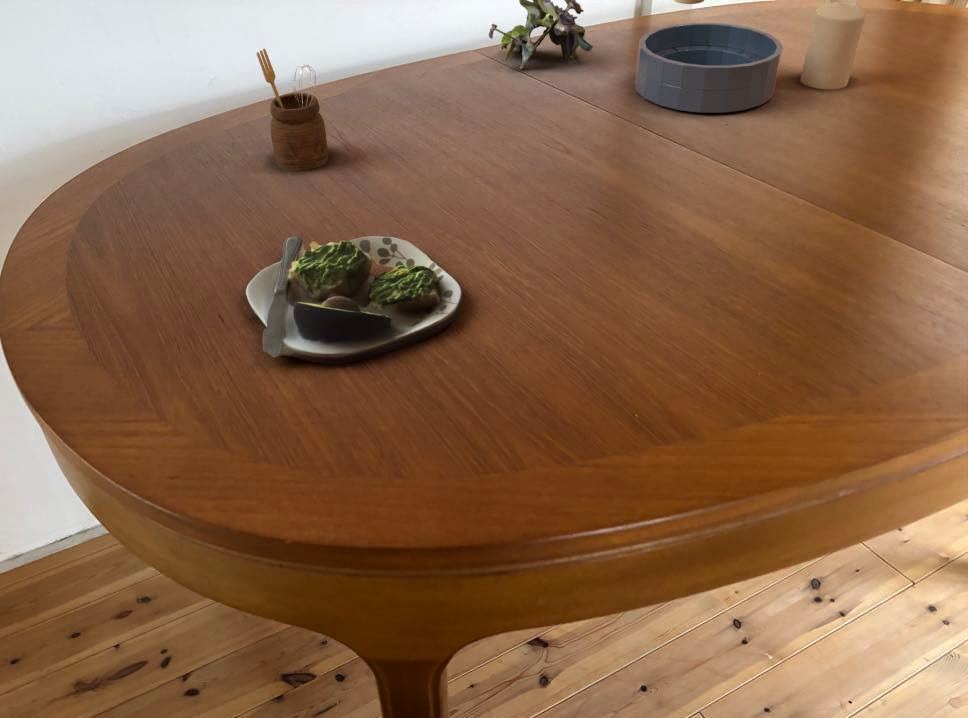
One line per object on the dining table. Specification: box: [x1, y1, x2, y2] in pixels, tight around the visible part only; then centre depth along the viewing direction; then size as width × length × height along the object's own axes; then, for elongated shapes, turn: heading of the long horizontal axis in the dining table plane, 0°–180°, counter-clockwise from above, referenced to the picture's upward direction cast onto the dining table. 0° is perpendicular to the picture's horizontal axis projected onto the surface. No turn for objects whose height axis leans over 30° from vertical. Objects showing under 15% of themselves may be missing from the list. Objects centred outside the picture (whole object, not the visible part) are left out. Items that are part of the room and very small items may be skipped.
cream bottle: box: [800, 0, 866, 90], centre depth 107 cm, size 6×6×10 cm
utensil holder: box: [256, 47, 329, 172], centre depth 95 cm, size 6×6×12 cm
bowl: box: [634, 22, 784, 114], centre depth 108 cm, size 16×16×6 cm
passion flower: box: [488, 0, 594, 71], centre depth 117 cm, size 11×11×12 cm
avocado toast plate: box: [245, 235, 463, 365], centre depth 75 cm, size 19×18×5 cm
